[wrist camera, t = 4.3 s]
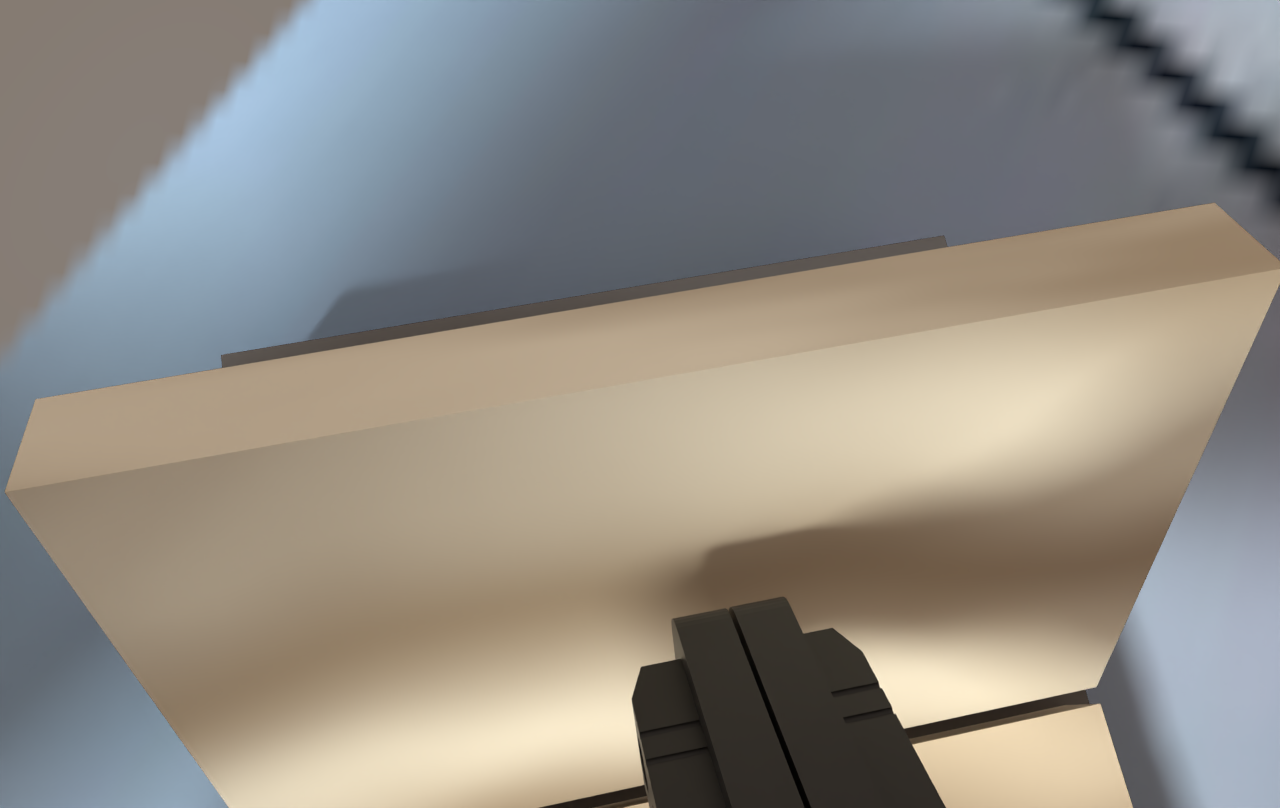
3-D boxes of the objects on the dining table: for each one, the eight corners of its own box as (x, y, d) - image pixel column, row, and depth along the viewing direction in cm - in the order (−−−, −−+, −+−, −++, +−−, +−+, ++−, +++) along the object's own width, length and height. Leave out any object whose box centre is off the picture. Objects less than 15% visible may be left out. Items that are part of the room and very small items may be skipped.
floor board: (1173, 1198, 21) (1325, 1321, 17) (366, 1418, 19) (303, 1618, 15) (905, 288, 26) (967, 203, 22) (263, 397, 25) (195, 329, 20)
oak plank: (1057, 620, 20) (1096, 687, 19) (275, 783, 19) (270, 865, 18) (1214, 202, 14) (1287, 266, 13) (35, 398, 12) (4, 491, 11)
